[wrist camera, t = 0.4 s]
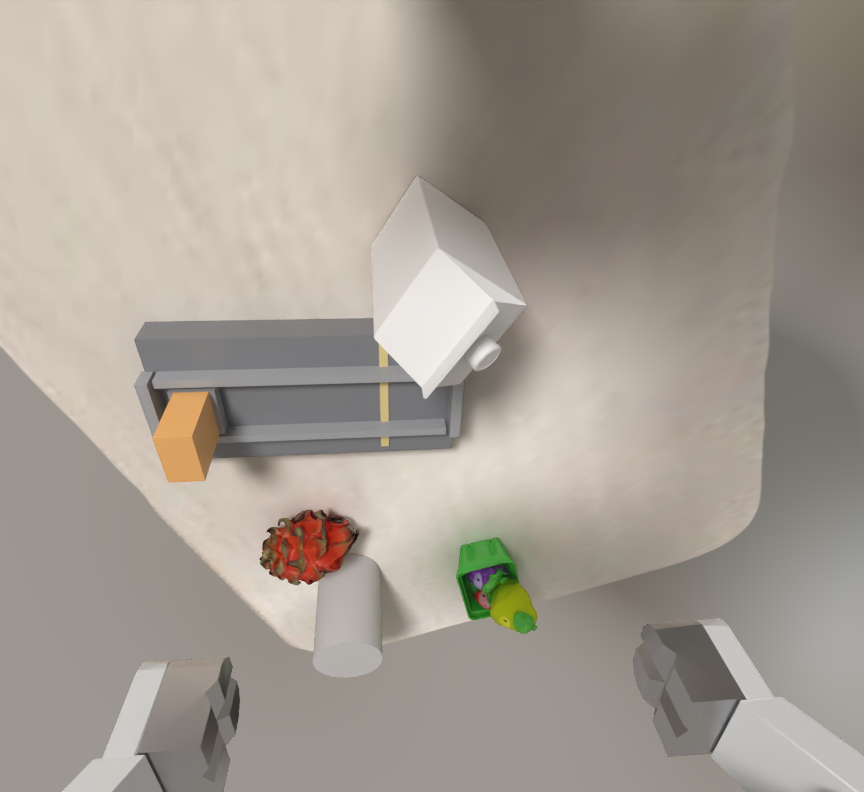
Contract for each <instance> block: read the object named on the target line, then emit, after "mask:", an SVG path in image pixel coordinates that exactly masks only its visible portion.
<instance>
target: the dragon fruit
mask: <svg viewBox="0 0 864 792" xmlns="http://www.w3.org/2000/svg"><path fill="white" fill-rule="evenodd" d="M303 514H305V517H304V519H302V520H300V521H298V520H299V519H300V518H301V516H302V515H303ZM314 515H315V516H316V517H318V518H317V519H316V520H315V519H313V518H312V517H311V512H310V510H306V511H302V512H301V513H299V514H297V515H296V518H295V519H292V520H290V519H288V518H282V519H279V522H278V526H279V525H280V522H281V521H283V522H285V525H286V526H285V528H284V529H281V528H277V527H271V528H269V529H268V530H267V532H269V533H270V534H271V535H270V538H268V539H266V540H264V542H263V547H262V549H263V552H262V554H263V555H262V557H260V559H259V560H261V562H260V565H262V566H263V567H264V568H265V569H270V571H269V574H270V575H272V576H275V577H278V578H279V579H280V580H284V579H285V578H287V579H288V582H289V583H291V584H294V585H299V584H300V583H301V582H300V581H299V580H301V581H304V582H306V583H307V584H308V585H310V584H312V583H313V582H316V581H319V580H320V579H322V578H323V577H324V576H325V575H326V574H327V573H331V572H334V571H337V570H339V569H340V567H341V565H342V563H343V560H344V558H345V556H346V554H347V553H348V552H349V550H350V549H351V547H352V545H353V543H354V542H355V541H356V540H357V537H358V535H359V530H358V529H357V530H356V534H355V533H354V532H353V531H351V530H350V529H349V528H347V527H345V526H348V525H349V522H348V520H346V519H344V518H341V517H339V516H330V517H334V518H331V519H332V520H341V521H343V522H339V523H335V522H331V521H329V520H326V514H325V513H324V512H323V510H319V511H317V512H315V513H314ZM351 525H352V524H351ZM352 527H353V526H352ZM353 529H354V528H353Z"/></svg>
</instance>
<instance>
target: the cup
mask: <svg viewBox="0 0 864 792" xmlns="http://www.w3.org/2000/svg"><path fill="white" fill-rule="evenodd" d="M382 659H383V654H382V622H381V591H380V568H379V566H378V564H377V563H376V562H375V561H374V560H372V559H370V558H368V557H366V556H362V555H357V554H346V556H345V558H344V560H343V563H342V565H341V567H340V569H339V570H337V571H334V572H331V573H327V574H326V575H325V576H324V577H323V578H322V579H320V580H319V581H318V596H317V610H316V624H315V638H314V652H313V665H314V667H315V668H316V669H317V670H318V671H319V672H321V673H323V674H325V675H328V676H333V677H355V676H360V675H364V674H367V673H369V672H371V671H373V670H374V669H376V668H377V667H378V666H379V665H380V664H381V662H382Z"/></svg>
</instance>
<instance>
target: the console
mask: <svg viewBox="0 0 864 792" xmlns="http://www.w3.org/2000/svg"><path fill="white" fill-rule="evenodd" d="M134 341H135V344H136V347H137V350H138V353H139V355H140V358H141V361H142V364H143V367H144V370H145V372H141V374H140V375H139V377H138V379H137V381H136V383H135V384H134V387H135V389H136V392H137V395H138V398H139V400H140V403H141V406H142V409H143V412H144V414H145V417H146V420H147V423H148V425H149V428H150V431H151V434H152V437H153V436H154V433H155V431H156V429H157V427H158V425H159V422H160V420H161V418H162V416H163V414H164V411H165V409H166V407H167V405H168V403H169V397H168V394H167V392H168V390H169V388H202V387H219V391H220V396H221V400H222V404H223V408H224V412H225V416H226V420H227V424H228V426H227V429H226V433H225V434H220V435H219V438H218V441H217V444H216V447H215V451H214V454H213V457H212V458H228V457H252V456H276V455H300V454H324V453H348V452H372V451H396V450H420V449H444V448H452V438H453V437H459V435H460V425H461V414H462V403H463V392H464V381H465V379H464V380H463V381H462V382H461V383H460V384H457V385H450V386H442V387H436V388H435V389H434V390H433V392H432V393H431V394H430V395H429V396H428V398H427V399H424V398H423V393H422V388H421V387H420V386H419V385H418V384H417V382H416V381H415V380H414V379H413V378H412V377H411V376H410V375H409V374H408V373H407V372H406V371H405V370H404V369H403V368H402V367H401V366H400V365H399V364H398V363H397V362H396V361H395V360H394V359H393V358H392V357H391V356H390V355H389V354H388V353H387V351H386V350H385V349H384V348H383V347H382V346H381V345H380V344H379V343H378V342H377V341H376V340H375V339H374V323H373V318H369V319H307V320H245V321H183V322H145V323H144V325H143V326H142V328H141V330H140V331H139V333H138V334H137V336H136V338H135V339H134Z"/></svg>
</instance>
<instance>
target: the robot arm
mask: <svg viewBox="0 0 864 792" xmlns="http://www.w3.org/2000/svg"><path fill="white" fill-rule="evenodd" d="M641 637H642V639H643V641H644V643H643V644H641V645H640V646H639V647H638V648H637V649H636V651H635V655H634V658H633V663H634V674H635V678H636V682H637V685H638V688H639V690H640V693H641V695H642V697H643V699H644V700H646V701H647V702H648V703H649V704H650V705H652V706H653V707H654V708H655V712H654V717H653V723H654V725H655V728H656V730H657V732H658V734H659V737H660V739H661V741H662V743H663V746H664V748H665V750H666V753H667V755H668V757H672V756H686V755H687V756H688V755H702V754H712V755H711V757H712V758H713V759H714V760H715V761H716V762H717V763H718V764H719V765H720V766H721V767H722V768H723V769H724V770H725V771H726V772H727V773H728V774H729V775H730V776H731V777H732V778H733V779H734V780H735V781H736V782H737V783H738V784H739V785H740V786H741V787H742V788H743V789H744V790H745V791H746V792H864V756H863V755H861V754H860V753H859V752H857V751H856V750H854V749H853V748H852V747H850V746H849V745H848V744H846V743H845V742H843V741H842V740H841V739H839V738H838V737H837V736H835V735H834V734H832V733H831V732H830V731H828V730H827V729H826V728H824V727H823V726H821V725H820V724H819V723H817V722H816V721H815V720H813V719H812V718H810V717H809V716H808V715H806V714H805V713H804V712H802V711H801V710H800V709H798V708H797V707H795V706H794V705H793V704H791V703H790V702H789V701H787V700H786V699H784V698H783V697H774V696H773V694H772V693H771V691H770V689H769V688H768V686H767V685H766V683H765V682H764V681H763V679H762V677H761V675H760V674H759V672H758V671H757V669H756V668H755V666H754V665H753V663H752V662H751V660H750V659H749V657H748V656H747V654H746V652H745V651H744V649H743V648H742V646H741V645H740V643H739V642H738V640H737V639H736V637H735V636H734V634H733V632H732V631H731V629H730V628H729V626H728V625H727V623H726V622H724V621H723V620H722V619H719V618H710V619H700V620H681V621H672V622H660V623H650V624H647V625H645V626H644V627H643V630H642V632H641ZM232 668H233V666H232V664H231V661H230V658H229V657H215V658H201V659H186V660H166V661H155V662H144V663H143V664H142V665H141V667H140V668H139V670H138V671H137V672H136V674H135V677H134V679H133V682H132V684H131V687H130V690H129V692H128V695H127V697H126V700H125V702H124V705H123V708H122V710H121V712H120V715H119V718H118V720H117V723H116V725H115V728H114V730H113V733H112V735H111V738H110V740H109V743H108V745H107V748H106V751H105V753H104V755H103V758H98V759H93V760H92V761H91V762H90V763H89V764H88V765H87V766H86V767H85V768H84V769H83V770H82V772H80V773H79V774H78V776H77V777H76V778H75V779H74V780H73V781H72V782H71V783H70V784H69V785H68V786H67V787H66V788H65V789H64V790H63V791H62V792H223V791H224V787H225V782H226V777H227V772H228V768H229V763H230V758H229V755H228V752H227V749H226V745H227V744H228V743H229V741H230V740H231V739H232V738H233V737H234V735H235V734H236V729H237V723H238V718H239V705H240V696H239V687H238V684H237V681H236V680H234V679H232V678H231V672H232Z"/></svg>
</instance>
